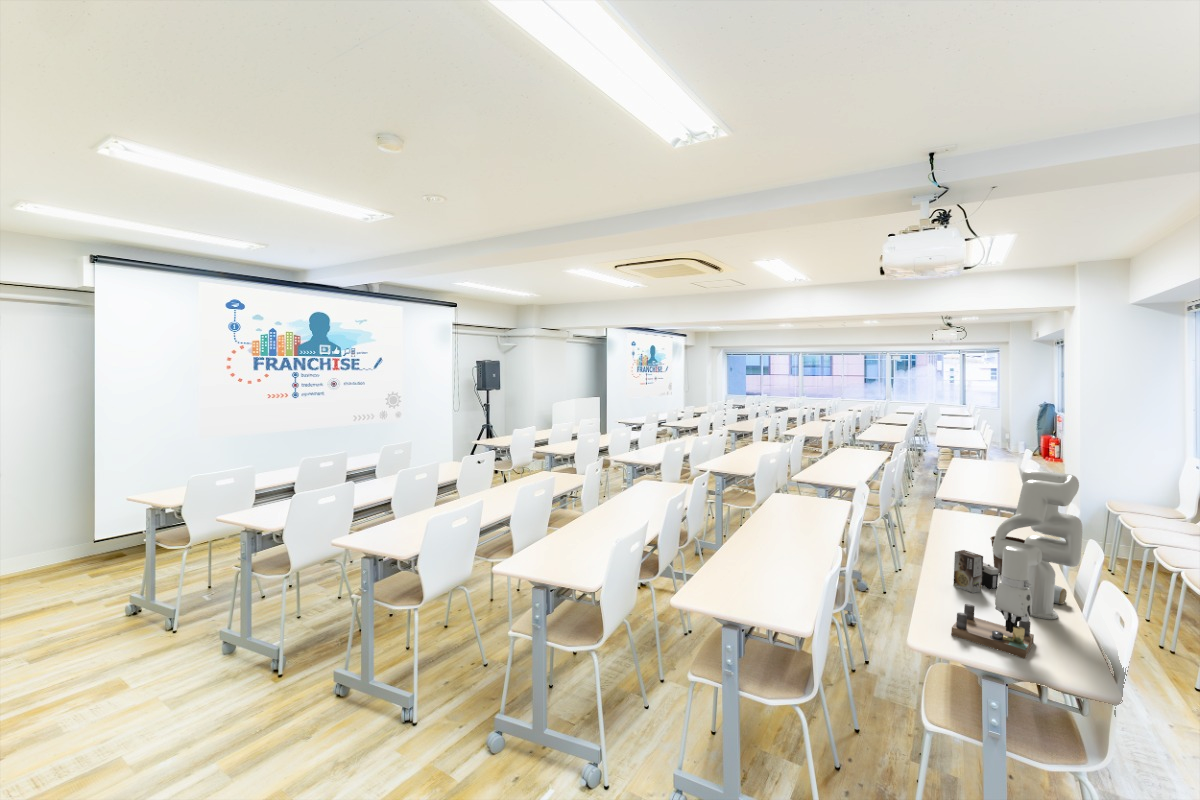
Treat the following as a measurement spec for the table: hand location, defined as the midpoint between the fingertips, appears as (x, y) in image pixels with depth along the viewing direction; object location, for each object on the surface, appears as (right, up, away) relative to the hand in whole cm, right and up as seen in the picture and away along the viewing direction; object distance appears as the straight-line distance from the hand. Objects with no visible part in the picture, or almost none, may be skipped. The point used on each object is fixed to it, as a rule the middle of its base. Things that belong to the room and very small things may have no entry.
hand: (1010, 631), depth 195 cm
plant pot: (+51, -1, +69) cm, 86 cm away
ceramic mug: (+47, -3, +38) cm, 61 cm away
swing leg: (-3, -2, -2) cm, 4 cm away
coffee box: (+18, -2, +50) cm, 53 cm away
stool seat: (-3, -5, +5) cm, 8 cm away
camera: (+30, -2, +56) cm, 64 cm away
